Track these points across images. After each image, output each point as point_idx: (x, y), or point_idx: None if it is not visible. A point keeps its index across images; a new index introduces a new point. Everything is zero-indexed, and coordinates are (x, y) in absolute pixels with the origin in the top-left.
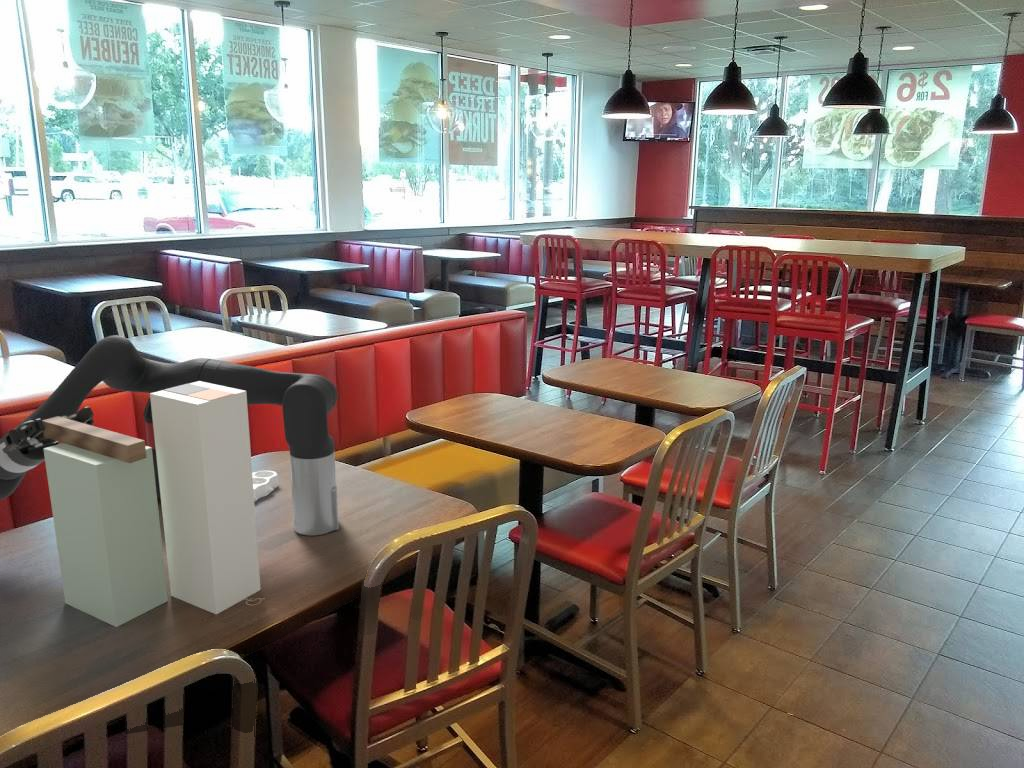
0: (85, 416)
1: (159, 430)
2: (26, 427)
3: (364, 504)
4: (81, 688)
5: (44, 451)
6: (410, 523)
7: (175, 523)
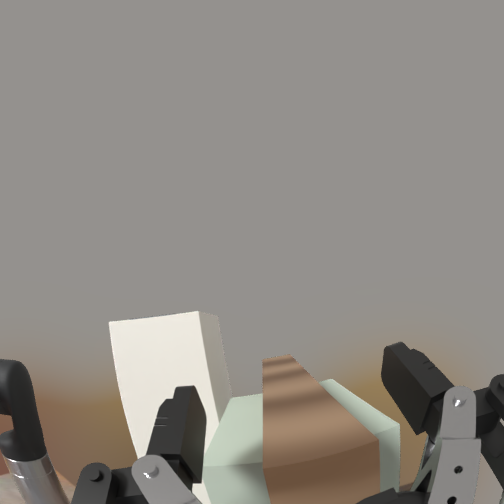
0: (200, 424)
1: (211, 373)
2: (442, 374)
3: (17, 501)
4: (402, 489)
5: (398, 430)
6: (61, 484)
7: None
